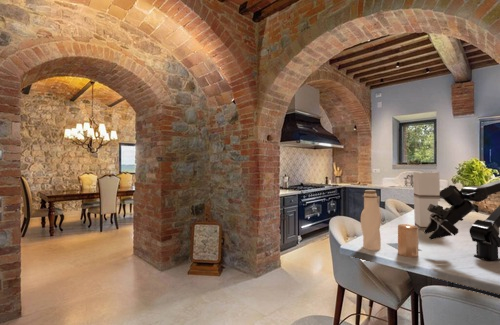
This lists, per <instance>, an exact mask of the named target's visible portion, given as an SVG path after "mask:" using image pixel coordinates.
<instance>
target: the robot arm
mask: <svg viewBox="0 0 500 325" xmlns="http://www.w3.org/2000/svg"><path fill="white" fill-rule="evenodd" d="M496 193H500V178H499V179H498V180H497V179H496V180H494V181H490V182H488V183H485V184H482V185H476V186H475V185H474V186H471V185H470V186H464V187H462V188H460V190H459V189H458V187H456V185H454V184H453V185H452V184H449V185H448V186H447V187H445V188H443V189H442V190H440V198H442V199H443V200H444V201H445V202H446V203H448V205H449V206H450V207H445V208H444V207H443V206H442V205H439V204H438V205H437V206H435V205H433V204H430V205H429V207H428V209H427V210H428V211H430V212H432V214H431V215H430V216H431V217H432V218H431V217H430V223H429V225H428V226H427V228H426V229H425V230H423V233H424V234H425V235H427V234H430V233H431V234H430V235H429V237H428V239H429V240H431V241H432V240H436V239H440V238H444V237H450V236H456V235H457V234H459V228H457V226H456V224H457V223H458V222H462V221H464V218H465V217H467V215H468V214H470V213H471V212H472V211H473V212H475V213H477V214H478V213H479V205H477V204H476V202H477V203H481V202H483V201H485V200H487V199H488V197H489V196H490V195H493V194H496ZM472 202H475V203H472ZM468 233H469V235H470V237H471V241H472V242H476V246H475V247H476V253H475V254H473V257H476V258H478V259H481V260H484V261H487V262H498V261H500V257H499V248H500V204H499V205H498V206H497V207H496V208H495V210H494V211H492V213H491V214H489V216H488V217H487V218H486V219H485V220H483V219H476V220H475V221H474V222H473V223H472V224H471V225H470V228H469V232H468Z"/></svg>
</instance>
